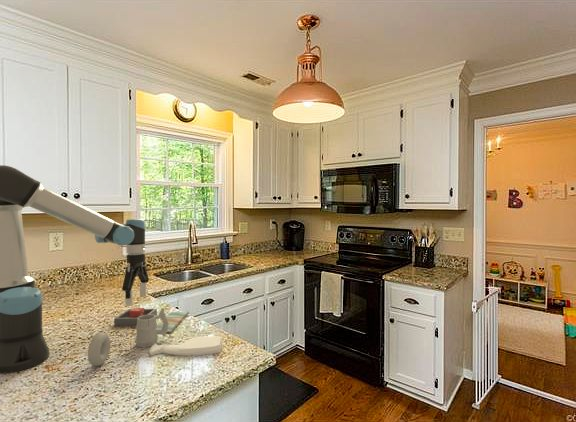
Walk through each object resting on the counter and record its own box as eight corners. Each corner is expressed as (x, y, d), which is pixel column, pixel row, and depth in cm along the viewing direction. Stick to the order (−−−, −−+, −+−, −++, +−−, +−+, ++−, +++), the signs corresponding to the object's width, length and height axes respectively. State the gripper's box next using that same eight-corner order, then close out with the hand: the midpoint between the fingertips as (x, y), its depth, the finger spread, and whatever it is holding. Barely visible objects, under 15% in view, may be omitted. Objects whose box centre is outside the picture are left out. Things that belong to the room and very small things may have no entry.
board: (171, 333, 129) (171, 331, 129) (150, 333, 129) (150, 331, 129) (188, 313, 153) (188, 311, 153) (171, 313, 153) (171, 311, 153)
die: (139, 321, 141) (139, 310, 140) (129, 321, 141) (129, 310, 141) (145, 317, 145) (144, 307, 145) (134, 317, 145) (134, 307, 145)
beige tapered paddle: (220, 355, 110) (145, 361, 107) (222, 342, 121) (154, 347, 118) (220, 347, 110) (145, 352, 107) (222, 334, 121) (154, 339, 118)
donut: (102, 357, 108) (101, 328, 108) (112, 357, 109) (112, 327, 108) (85, 372, 98) (85, 340, 98) (97, 372, 99) (96, 340, 98)
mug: (132, 342, 120) (132, 310, 120) (165, 334, 127) (164, 304, 127) (138, 349, 114) (138, 316, 114) (171, 341, 121) (171, 309, 121)
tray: (144, 325, 137) (144, 318, 137) (114, 325, 137) (114, 318, 137) (156, 315, 150) (156, 308, 150) (129, 315, 150) (128, 308, 150)
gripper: (131, 258, 131) (131, 309, 131) (155, 249, 155) (156, 293, 156) (112, 258, 130) (113, 310, 131) (140, 249, 155) (140, 293, 156)
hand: (136, 301), depth 143 cm, fingers open, 13 cm apart
